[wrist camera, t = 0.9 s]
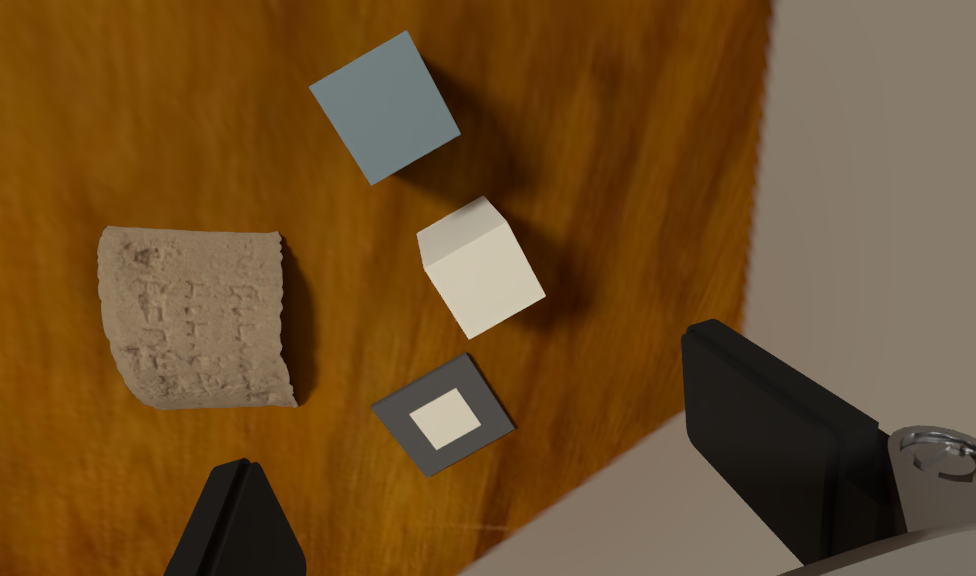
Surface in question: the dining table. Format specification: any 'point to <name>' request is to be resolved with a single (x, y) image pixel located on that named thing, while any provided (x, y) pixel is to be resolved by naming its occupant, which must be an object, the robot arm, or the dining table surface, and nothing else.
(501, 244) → the cream block
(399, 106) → the slate-blue block
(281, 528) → the robot arm
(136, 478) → the dining table surface
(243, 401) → the clay tablet
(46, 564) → the dining table surface
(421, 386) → the card
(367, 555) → the dining table surface
